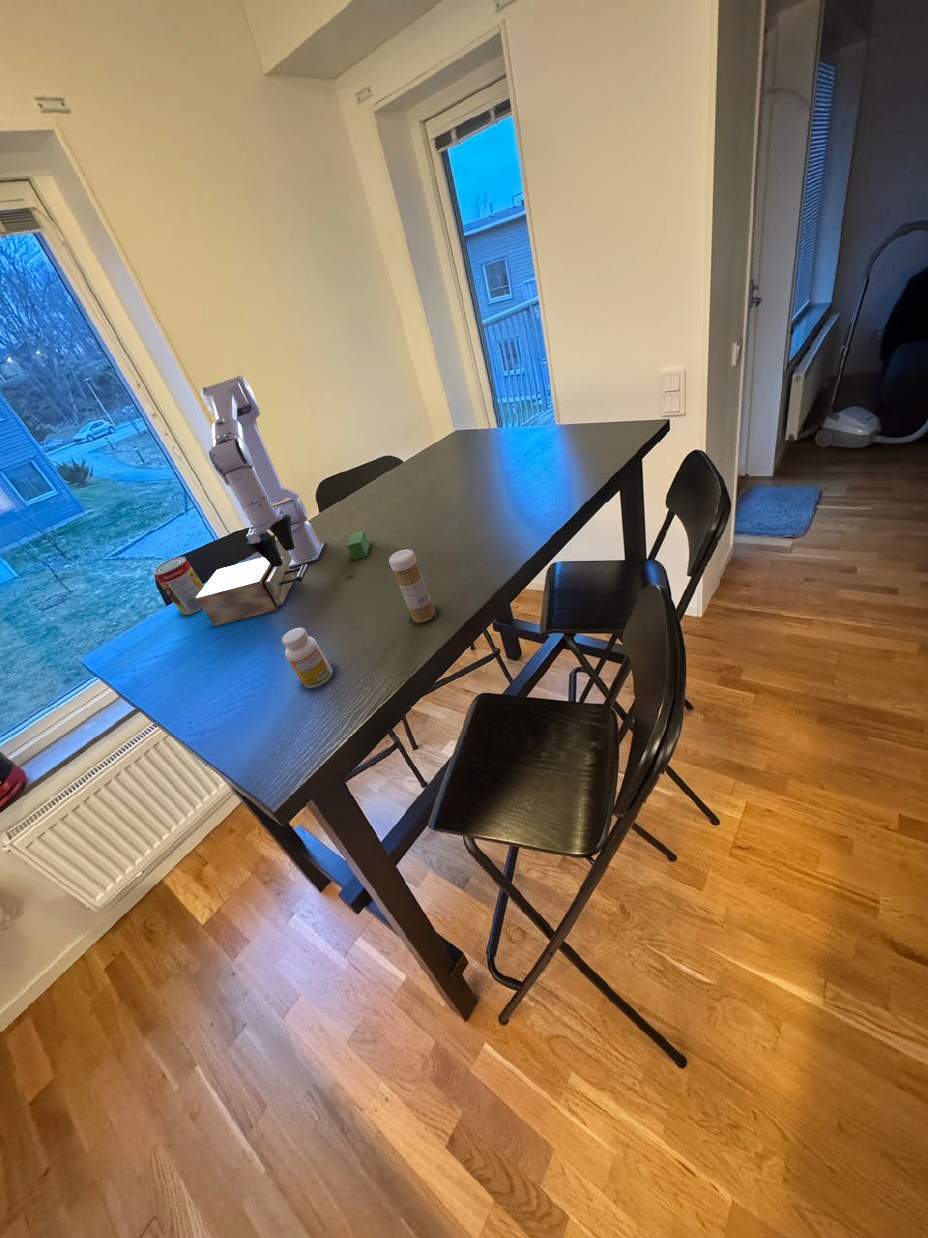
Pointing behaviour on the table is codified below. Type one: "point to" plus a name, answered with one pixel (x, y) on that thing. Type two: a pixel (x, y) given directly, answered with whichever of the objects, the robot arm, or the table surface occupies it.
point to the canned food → (180, 584)
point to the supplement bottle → (306, 658)
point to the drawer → (281, 580)
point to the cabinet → (237, 592)
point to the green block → (358, 545)
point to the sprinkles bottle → (412, 585)
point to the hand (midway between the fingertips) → (284, 557)
